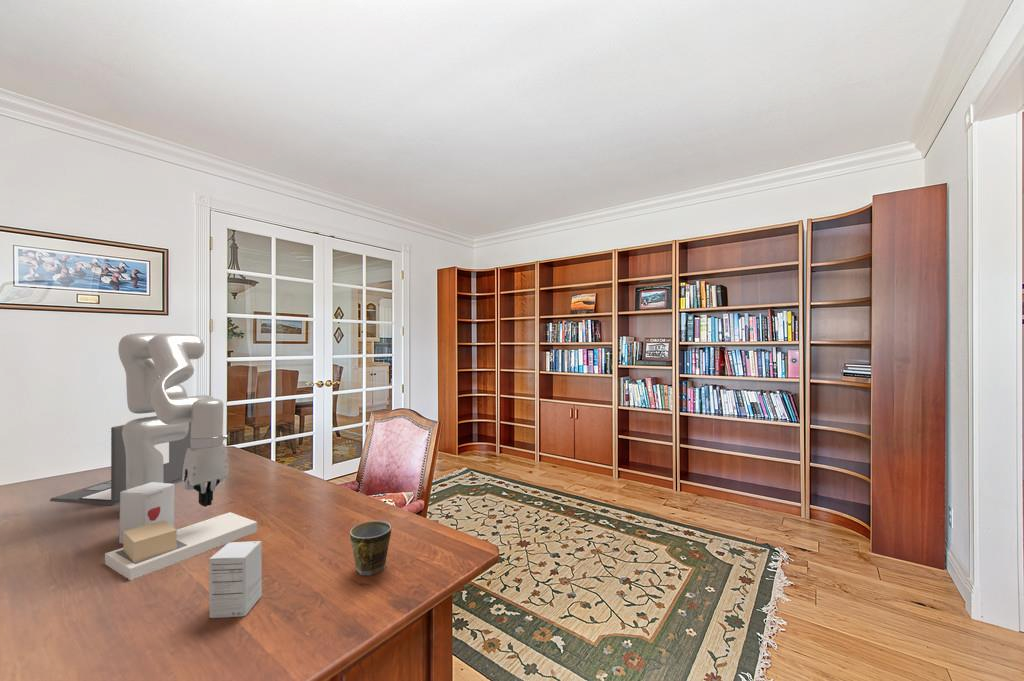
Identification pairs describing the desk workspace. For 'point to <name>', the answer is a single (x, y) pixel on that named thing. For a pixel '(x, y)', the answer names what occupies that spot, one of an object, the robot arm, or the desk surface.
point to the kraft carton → (149, 540)
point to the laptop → (111, 489)
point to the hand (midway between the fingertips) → (205, 504)
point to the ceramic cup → (370, 546)
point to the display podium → (185, 544)
